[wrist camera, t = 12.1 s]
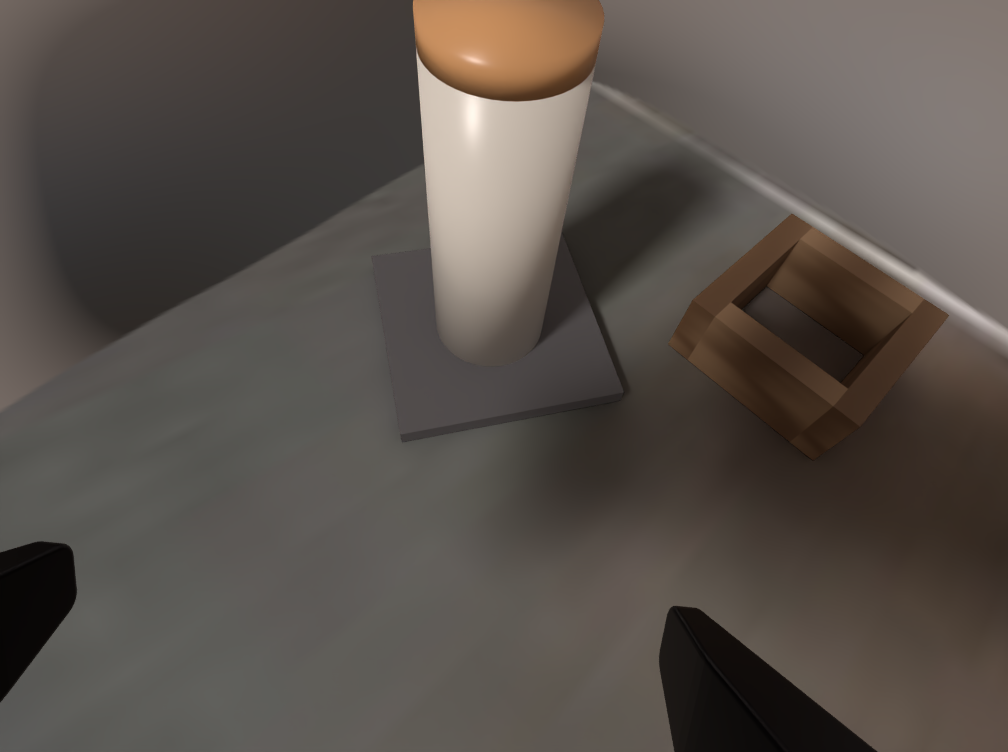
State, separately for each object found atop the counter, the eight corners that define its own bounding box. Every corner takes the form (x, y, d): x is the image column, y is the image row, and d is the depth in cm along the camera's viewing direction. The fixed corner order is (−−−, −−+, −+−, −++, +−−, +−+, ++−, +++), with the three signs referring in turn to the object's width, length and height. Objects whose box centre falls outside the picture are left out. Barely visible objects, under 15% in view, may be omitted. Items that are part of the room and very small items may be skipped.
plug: (554, 356, 26) (631, 54, 14) (447, 375, 25) (431, 71, 13) (526, 274, 29) (572, -45, 16) (428, 288, 28) (400, -36, 16)
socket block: (897, 357, 28) (949, 315, 25) (812, 460, 25) (860, 426, 22) (760, 261, 31) (791, 213, 28) (668, 344, 28) (692, 299, 25)
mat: (620, 400, 26) (624, 392, 25) (402, 442, 24) (400, 434, 24) (559, 241, 31) (561, 230, 30) (373, 266, 29) (371, 256, 29)
